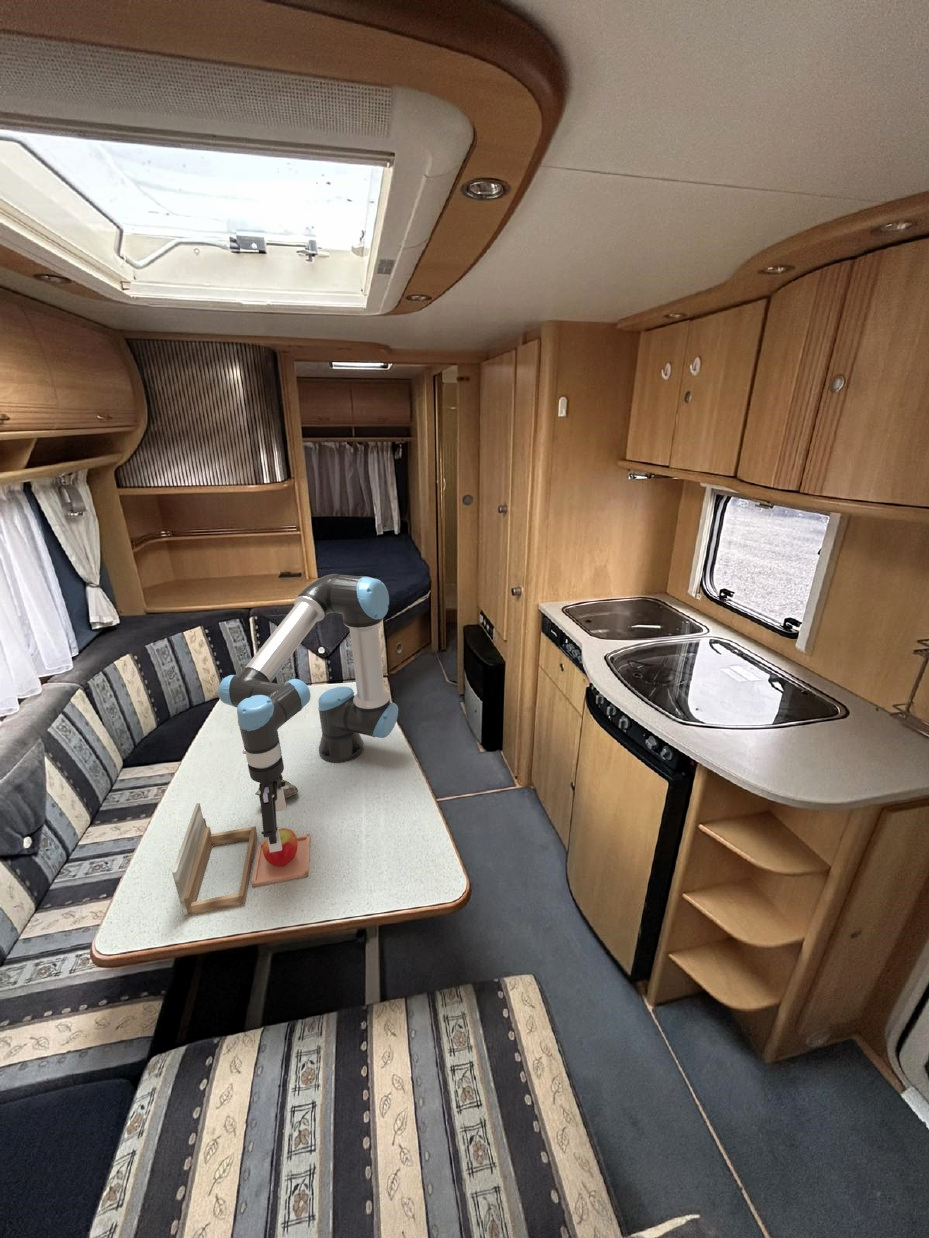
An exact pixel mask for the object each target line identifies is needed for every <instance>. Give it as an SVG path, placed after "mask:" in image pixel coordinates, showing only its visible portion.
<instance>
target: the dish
mask: <svg viewBox="0 0 929 1238" xmlns="http://www.w3.org/2000/svg"><path fill="white" fill-rule="evenodd" d="M296 838H297V842H298V848H297V852H296V855H295V857H294V858H293V859H292V861H290V862H289V863H288V864H286V865H284V866H274V865H271V864H270V863H268V862H267V860H266V859H265V857H264V854H263V843H264V841H263V842H258V844H257V847H256V848H257V849H256V855H255V860H254V868H253V874H252V877H251V878H252V879H251V888H254V887H259V886H265V885H266V886H267V885H270V884H277V883H281V882H282V883H283V882H287V881H291V880H292V881H293V880H299V879H302V878H303V879H304V878H308V877H309V875H310V874H309V873H310V869H309V868H310V854H311V853H310V852H311V851H310V850H311V835H310V833H308V834H307V833H306V834H301V835H296Z"/></svg>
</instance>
